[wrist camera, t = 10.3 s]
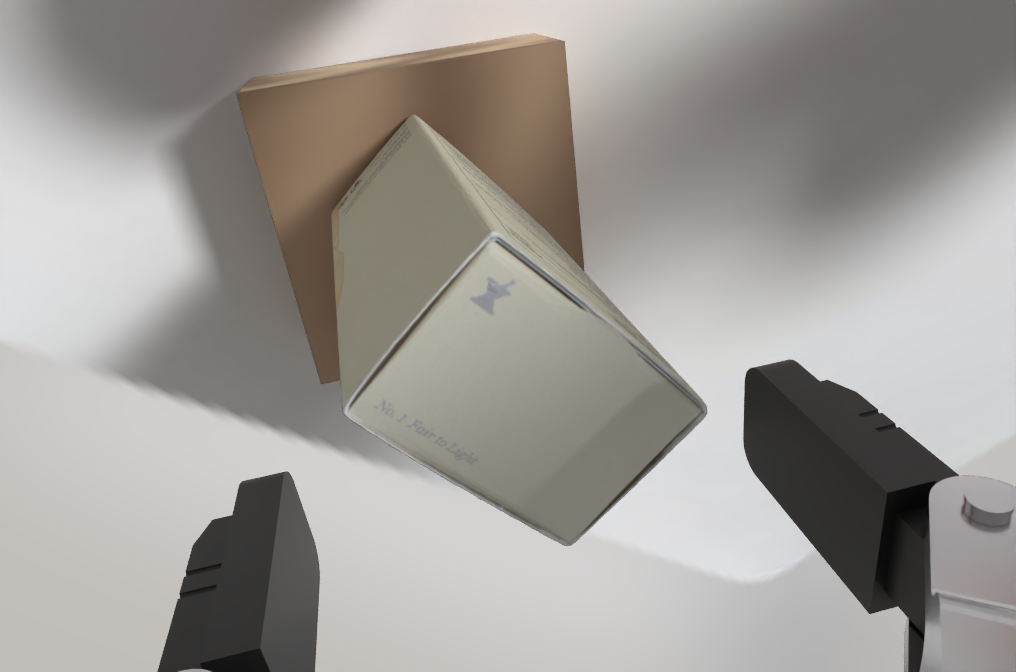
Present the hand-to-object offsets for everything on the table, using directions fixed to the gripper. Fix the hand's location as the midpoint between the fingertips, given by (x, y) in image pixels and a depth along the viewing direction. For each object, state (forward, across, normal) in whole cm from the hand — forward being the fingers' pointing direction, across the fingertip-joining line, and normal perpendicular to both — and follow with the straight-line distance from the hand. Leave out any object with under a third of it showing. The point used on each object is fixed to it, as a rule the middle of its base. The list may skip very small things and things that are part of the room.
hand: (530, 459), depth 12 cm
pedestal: (+17, 0, 0) cm, 17 cm away
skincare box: (+13, 0, 0) cm, 13 cm away
